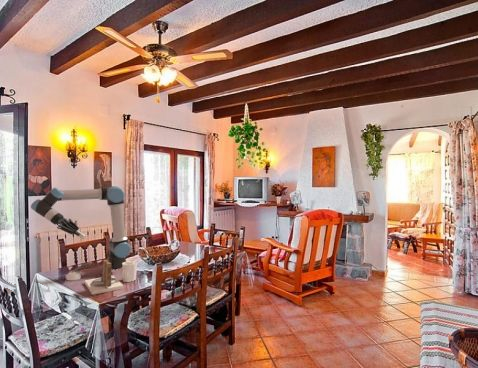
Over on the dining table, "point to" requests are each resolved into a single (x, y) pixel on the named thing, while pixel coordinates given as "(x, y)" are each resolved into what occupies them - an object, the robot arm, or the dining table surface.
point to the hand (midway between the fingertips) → (84, 237)
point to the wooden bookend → (105, 276)
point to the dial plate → (102, 289)
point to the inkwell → (76, 272)
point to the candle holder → (129, 271)
